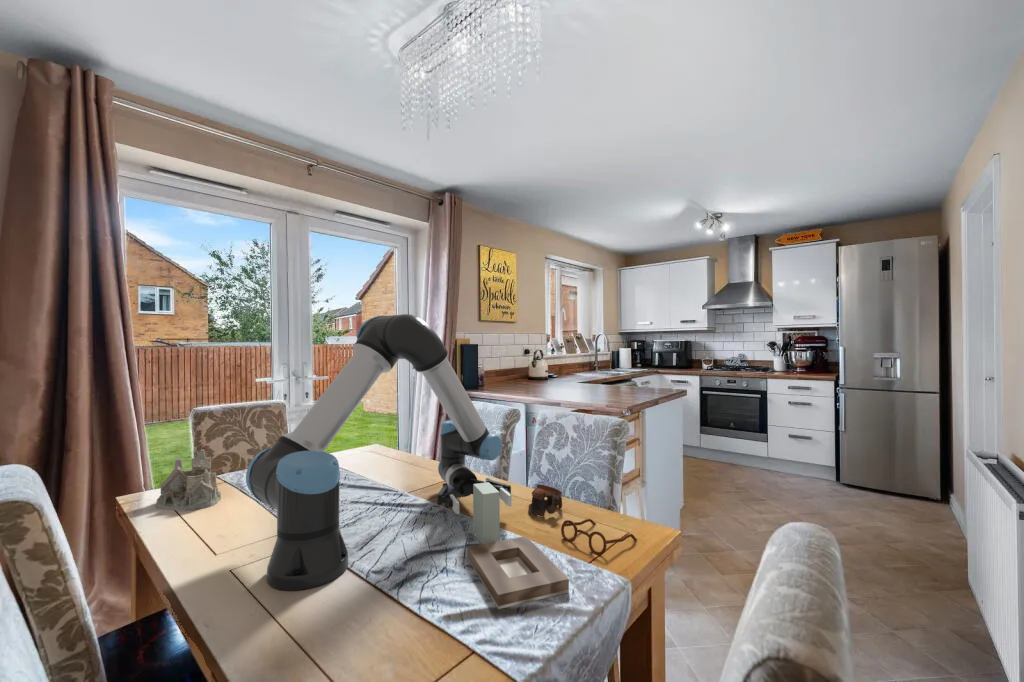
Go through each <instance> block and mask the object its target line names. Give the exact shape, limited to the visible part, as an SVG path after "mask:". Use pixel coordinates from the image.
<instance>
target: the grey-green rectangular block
mask: <svg viewBox="0 0 1024 682" xmlns="http://www.w3.org/2000/svg"><path fill="white" fill-rule="evenodd" d="M472 497H473V499H472V500H473V501H472V503H473V505H472V507H473V509H472V512H473V513H472V515H473V516H472V517H473V519H472V520H473V521H472V523H473V524H472V525H473V529H472V530H473V532H474V533H473V534H474V536H475V535H476V536H475V537H476V538H477V540H478V541H479V542H480V544H484V543H490V542H496V541H501V539H500V538H501V535H500V534H501V533H500V530H501V529H500V527H501V525H500V524H501V522H500V521H501V519H500V514H501V511H500V509H501V507H500V506H501V505H500V500H501V499H500V492H499V491H498V490H497V489H496V488H494V487H493V486H492V485H491V484H490V483H489V482H486V483H478V484H473V494H472Z"/></svg>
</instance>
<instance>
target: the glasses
mask: <svg viewBox="0 0 1024 682" xmlns="http://www.w3.org/2000/svg"><path fill="white" fill-rule="evenodd" d="M585 523H591V524H592V525H597V523H596V522H595V521H594V520H593V519H591V518H586V519H584V520H582V521H579V522H578V521H577V522H573V520H570V519H569V520H568V519H567V520H564V521H563V523H562V524H561V528H560V530H561V531H560V532H561V536H562V538H563V539H564V541H566V542H569V543H572V542H575V541H576V539H577V536H578V533H579V534H582V535H584V536H586V537H587V538H588V547H589V549H590V551H591V552H592V553H593V554H595V555H598V556H601V555H604V554H605V553H606V550H607V545H609V544H616V543H622V542H624V541H625V540H627V539H629V538H631V539H632V540H633V541H634V542H636V540H637V541H638V539H637V538H636V536H635V535H634V534H633V533H629V534H626V535H624V536H623V537H621V538H614V539H606V537H605V535H604V534H603V533H601V532H600V531H593V532H591V533H588V532H587V531H584V530H582V529H578V526H582V525H584V524H585ZM565 527H573V530H574V534H573V537H572V538H571V539H570V538H568V537H567V536H566V534H565ZM595 535H597V536H599V537H600V538H601V539H602V541H603V546H602V550H601V551H596V550H595V549H594V548H593V547H594V546H593V543H592V539H593V536H595Z"/></svg>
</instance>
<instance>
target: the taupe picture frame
mask: <svg viewBox="0 0 1024 682" xmlns="http://www.w3.org/2000/svg"><path fill="white" fill-rule="evenodd" d="M466 558H467V560H468V562H469V564H470V565H471V567H472V568H473V570H474V572H475V573H476V575H477V576H478V578H479V580H480V581H481V583H482V585H483V586H484V588H485V590H486V591H487V593H488V595H489V596H490V598H491V600H492V601H493V603H494V605H495V606H496V608H497V610H501V609H504V608H509V607H513V606H517V605H521V604H526V603H530V602H535V601H538V600H542V599H547V598H551V597H555V596H560V595H565V594H568V593H569V592H570V587H569V586H570V579H569V577H567V575H566V574H565V573H563V571H562V570H561V569H560V568H559V567H557V565H555V564H554V562H552V560H551V559H550V558H549V557H548V556H547V555H546V554H545V553H544V552H543V551H541V549H540V548H538V546H537V545H536V544H535V543H534V542H533V541H532V540H530V538H529V537H528V536H526V535H525V536H524V535H523V536H520V537H513V538H508V539H503V540H502V539H500V541H496V542H490V543H484V544H481V543H480V544H475V545H468V546H466Z"/></svg>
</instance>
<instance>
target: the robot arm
mask: <svg viewBox="0 0 1024 682" xmlns="http://www.w3.org/2000/svg"><path fill="white" fill-rule="evenodd" d="M352 351H353V355H352V356H351V357H350V358H349V360H348V362H347V363H346V364H345V365H344V366H343V368H342V369H341V370H340V372H338V374H337V375H336V377H335V378H334V379H333V380H332V381H331V383H330V384H329V385H328V386H327V388H326V389H325V390H324V392H323V393H322V394H321V396H320V397H319V398H318V399H317V401H316V402H314V405H313V406H312V407H310V409H309V411H308V412H307V413H306V415H305V416H304V417H303V418H302V420H301V421H300V422H299V424H297V426H296V427H295V429H294V430H293V431H291V432H289V433H288V432H287V433H284V434H281V435H280V436H279V438H278V439H277V440H276V442H274V444H273V445H272V446H271V447H268V448H265V449H263V450H262V451H260V452H258V453H257V454H256V455H255V456H254V457H253V458H252V460H251V461H250V462H249V464H248V466H247V469H246V474H245V482H246V486H247V488H248V490H249V492H250V493H251V495H252V496H254V498H256V500H258V501H260V502H262V503H263V504H266V505H268V506H270V507H271V508H273V509H274V510H276V530H277V531H276V541H275V544H274V547H273V549H272V552H271V555H270V559H269V561H268V564H267V567H266V583H268V585H269V586H270V587H272V588H273V589H277V590H282V591H302V590H307V589H311V588H316V587H318V586H321V585H325V584H327V583H329V582H332V581H333V580H335V579H336V578H339V577H340V576H341V575H342V574H343V573H344V572H345V571H346V570H347V568H348V567H349V553H348V552H349V551H348V548H347V547H346V543H345V540H344V537H343V535H342V532H341V529H340V479H341V471H340V464H339V460H338V459H337V457H336V456H335V455H334V454H331V453H329V452H327V451H326V450H327V448H328V447H329V445H330V444H331V443H332V441H333V440H334V439H335V437H336V436H337V435H338V433H339V432H340V431H341V430H342V428H343V426H344V425H345V424H346V422H347V421H348V420H349V418H350V417H351V415H352V414H353V412H355V410H356V408H357V407H358V406H359V405H360V403H361V402H362V400H363V399H364V398H365V396H366V395H367V394H368V392H369V391H370V389H371V388H372V387H373V385H374V384H375V383H376V381H377V380H378V379H379V377H380V376H381V374H383V373H389V372H391V370H392V369H393V368H394V366H395V365H396V364H397V362H398V361H399V360H402V359H404V360H405V361H408V362H409V363H410V364H411V366H413V368H414V370H415V371H416V372H417V373H420V374H422V375H423V378H425V380H426V381H427V384H428V385H429V388H431V390H432V392H433V393H434V395H435V396H436V398H437V400H438V401H439V404H441V406H442V408H443V409H444V411H445V413H446V415H447V416H448V418H449V420H445V421H443V422H442V423H441V425H440V426H441V427H440V461H439V463H438V465H437V466H438V467H437V471H438V474H439V476H440V478H441V480H443V482H444V483H442V487H441V489H440V490H439V492H437V495H436V505H438V506H440V505H443V504H444V508H445V509H449V508H451V509H452V510H453V512H454V513H455V514H456V515H460V502H459V500H458V498H460V499H461V498H465V497H469V496H471V495H473V484H478V483H486V482H489V483H490V484H491V485H492V486H493V487H494V488H496V489H497V490H498V491H499V492H500V500H501V501H502V502H503V503H504V504H506V506H508V507H512V504H513V503H512V499H513V498H512V486H511V485H510V484H508V483H503V482H500V481H496V480H493V479H491V478H489V477H485V480H480V479H478V478H477V476H476V474H475V473H474V472H473V471H472V470H471V469H469V467H467V466H466V456H468V457H472V458H476V459H480V460H482V461H495V460H496V459H498V457H499V456H500V455H501V453H502V451H503V441H502V439H501V437H500V436H499V435H497V434H495V433H494V432H492V433H490V431H489V430H488V428H487V426H486V424H485V423H484V421H483V419H482V417H481V416H480V414H479V412H478V409H476V407H475V405H474V403H473V401H472V399H471V398H470V396H469V395H468V393H467V391H466V389H465V388H464V386H463V384H462V382H461V380H460V379H459V376H458V375H457V373H456V371H455V369H454V368H453V366H452V364H451V363H450V361H449V359H448V356H449V352H448V350H447V348H446V346H445V345H444V343H443V341H442V339H441V337H439V336H438V334H437V333H436V332H435V330H434V329H433V328H432V327H431V326H430V325H429V324H428V322H426V321H425V320H424V319H422V318H420V317H418V316H417V315H413V314H410V313H403V314H397V315H396V314H395V315H394V314H393V315H378V316H374V317H372V318H369V319H367V320H365V321H364V322H363V323H362V324H361V325H360V327H359V328H358V330H357V332H356V342H355V343H354V344H353V345H352Z"/></svg>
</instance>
